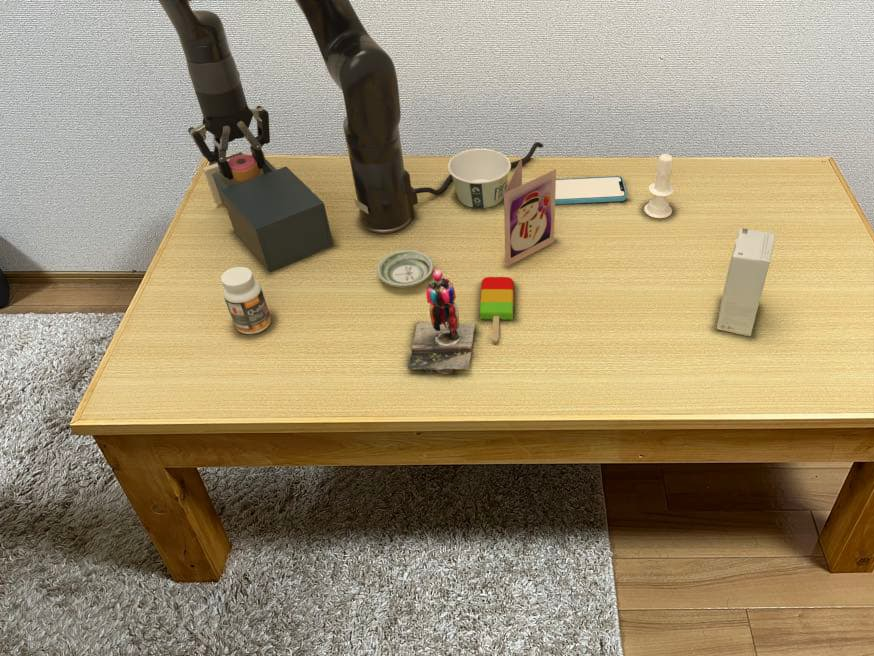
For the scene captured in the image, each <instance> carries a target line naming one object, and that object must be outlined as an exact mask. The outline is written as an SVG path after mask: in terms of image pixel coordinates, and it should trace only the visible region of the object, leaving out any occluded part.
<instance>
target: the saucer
mask: <svg viewBox="0 0 874 656" xmlns="http://www.w3.org/2000/svg"><path fill="white" fill-rule="evenodd" d="M433 270H434V262H433V260H432V258H431V257H430V256H429V255H428V254H426V253H424V252H421V251H419V250H415V249H401V250H396V251H392V252H391V253H388V254H387V255H385V256H384V257H382V259H380V261H379V262H378V263H377V266H376V275H377V276H378V278H379V280H380V281H382V282H383V283H384V284H386V285H388V286H390V287H391V286H392V287H395V288H413V287H415V286H419V285H420V284H422V283H423V282H425V281H426V280H428V279H429V278H430V277H431V275H433Z"/></svg>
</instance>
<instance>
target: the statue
mask: <svg viewBox="0 0 874 656" xmlns="http://www.w3.org/2000/svg"><path fill="white" fill-rule="evenodd" d="M432 279H433V280H432V281H429V282H428V285H427V287H426V290H425V291H426V293H425V294H426V296H425V297H426V302H427V303H428V304H429V317H430V322H417V323H416V328H415V333H414V337H413V341H412V345H411V349H410V350H411V351H410V352H411V355H410V358H409V362H408V365H407V367H406V369H407V370H423V371H425V372H426V373H428V374H432V373H433V371H435V370H436V372H438V373H440V374H443V375H444V374H445V375H450V374H451V373H452V372H455V371H456V370H461V369H462V370H463V369H467V370H468V369H469V366H470V362H471V356H472V354H473V353H472V345H474V334H475V326H476V323H475V322H460V312H459V307H458V306H457V303H456V302H455V300H456V298H457V296H456V291H455V287H454V286H455V285H454V283H453V281H451V280H450V279H449V278H445V276H444V272H443V271H442V270H441V269H439V268H435V269H434V268H433V271H432Z"/></svg>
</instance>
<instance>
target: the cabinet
mask: <svg viewBox="0 0 874 656" xmlns="http://www.w3.org/2000/svg"><path fill="white" fill-rule="evenodd" d="M220 191H221V194H222V197H223V200H224V203H225V206H226V208H227V209H226V208H225V209H226V210H227V214H228V217H229V221H230V222H231V226H232V228H233V232H234V233H235V234H236V236H237V237H238V238H239V239H240V240H241V241H242V242H243V244H244V245H245V246H246V247H247V248H248V250H249V252H251V253H252V254H253V256H254V257H255V258H256V259H257V260H258V262H260V263H261V265H262V266H263V267H264V268H265V269H266V270H267V272H268V273H271V272H274V271H277V270H279V269H281V268H283V267H286V266H288V265H291V264H293V263H295V262H298V261H301V260H303V259H305V258H308V257H310V256H313V255H315V254H317V253H319V252H322V251H324V250H327V249H330V248H332V247H334V245H335V244H334V240H333V236H332V232H331V227H330V222H329V218H328V215H327V210H326V206H325V203H324V201H322V199H321V198H320V197H318V195H317V194H315V193H314V192H313V191H312V190H311V189H310V188H309V187H308V186H307V185H306V184H305V183H304V182H303V181H302V180H301V179H300V178H299V177H298V176H297V175H296V174H295V173H294V172H292V170H291V169H290V168H289V167H288V166H283V167H280V168H278V169H277V168H276V170H274V171H272V172H269V173H266V174H263V175H260V176H258V177H255V178H252V179H249V180H246V181H243V182H241V183H238V184H235V185H232V186H229V187H226V188H224V189H221V190H220Z"/></svg>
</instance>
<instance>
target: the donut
mask: <svg viewBox="0 0 874 656" xmlns="http://www.w3.org/2000/svg"><path fill="white" fill-rule="evenodd" d="M228 164H229V167H230V170H231V173H232V176H233V180H235V181H246V180H249V179H252V178H255V177H257V176H258V175H259V172H260V171H259V168H258V164H257V161H256V160H255V159H254V157H253V156H251V155H246V154H245V153H243V155H237V156H234V157H232V158H231V159H229V161H228Z"/></svg>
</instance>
